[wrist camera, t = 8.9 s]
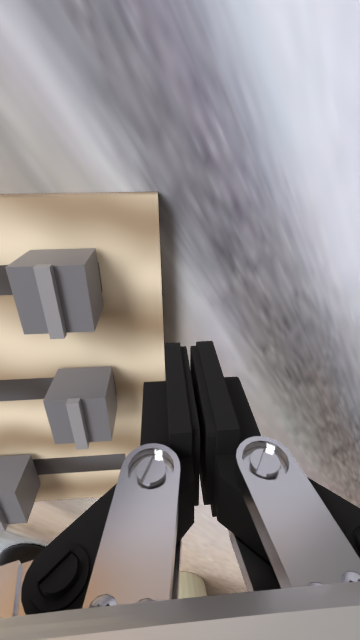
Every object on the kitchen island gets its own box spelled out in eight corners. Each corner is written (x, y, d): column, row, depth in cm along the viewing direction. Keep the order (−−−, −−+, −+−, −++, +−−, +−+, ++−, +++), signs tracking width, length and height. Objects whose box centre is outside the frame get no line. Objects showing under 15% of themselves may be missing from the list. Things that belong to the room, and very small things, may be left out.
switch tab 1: (41, 484, 29) (25, 529, 25) (-3, 487, 29) (-26, 533, 25) (30, 453, 27) (11, 498, 23) (-17, 456, 27) (-43, 501, 23)
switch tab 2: (104, 307, 21) (93, 337, 18) (44, 309, 21) (21, 340, 17) (95, 246, 19) (81, 266, 16) (29, 248, 19) (0, 268, 15)
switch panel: (169, 473, 33) (169, 493, 31) (-24, 487, 32) (-36, 508, 30) (157, 191, 20) (157, 195, 18) (-168, 197, 19) (-205, 201, 17)
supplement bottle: (4, 572, 40) (-52, 723, 29) (-7, 542, 37) (-73, 699, 26) (59, 570, 40) (24, 716, 30) (53, 540, 37) (12, 692, 27)
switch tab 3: (117, 407, 25) (111, 447, 22) (67, 410, 25) (53, 451, 21) (111, 365, 23) (103, 401, 20) (57, 367, 23) (39, 405, 20)
